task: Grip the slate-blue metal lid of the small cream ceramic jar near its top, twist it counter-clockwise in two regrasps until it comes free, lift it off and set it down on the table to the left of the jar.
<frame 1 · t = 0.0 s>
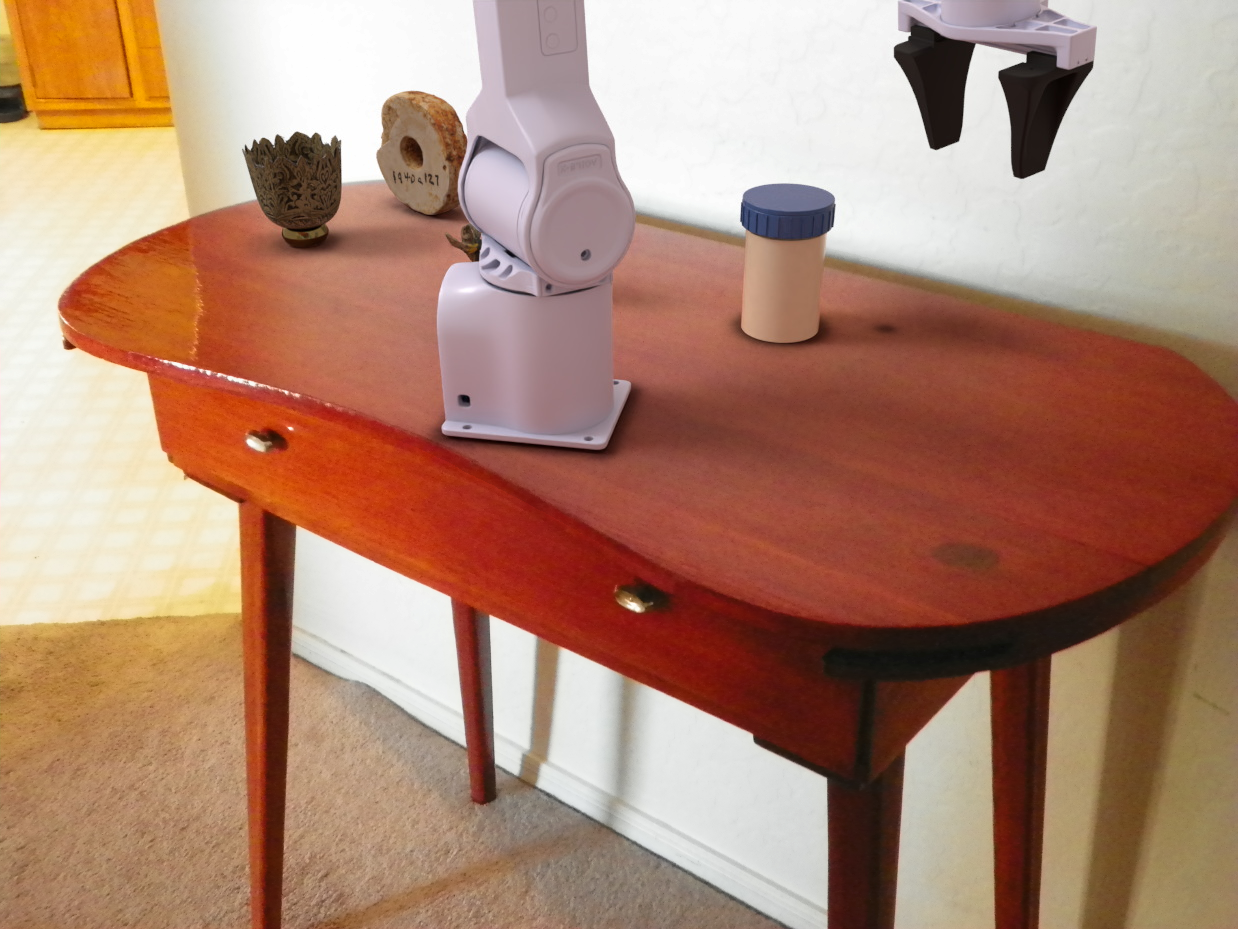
hand: (985, 158, 74), 11 cm above the table, tool pointing down, fingers open, 7 cm apart
lid: (788, 201, 72), point 9 cm above the table, screwed on, not yet turned
jar: (779, 327, 77), on the table
stone disc: (430, 210, 99), on the table
eagle figurine: (524, 288, 84), on the table
cup: (307, 244, 92), on the table
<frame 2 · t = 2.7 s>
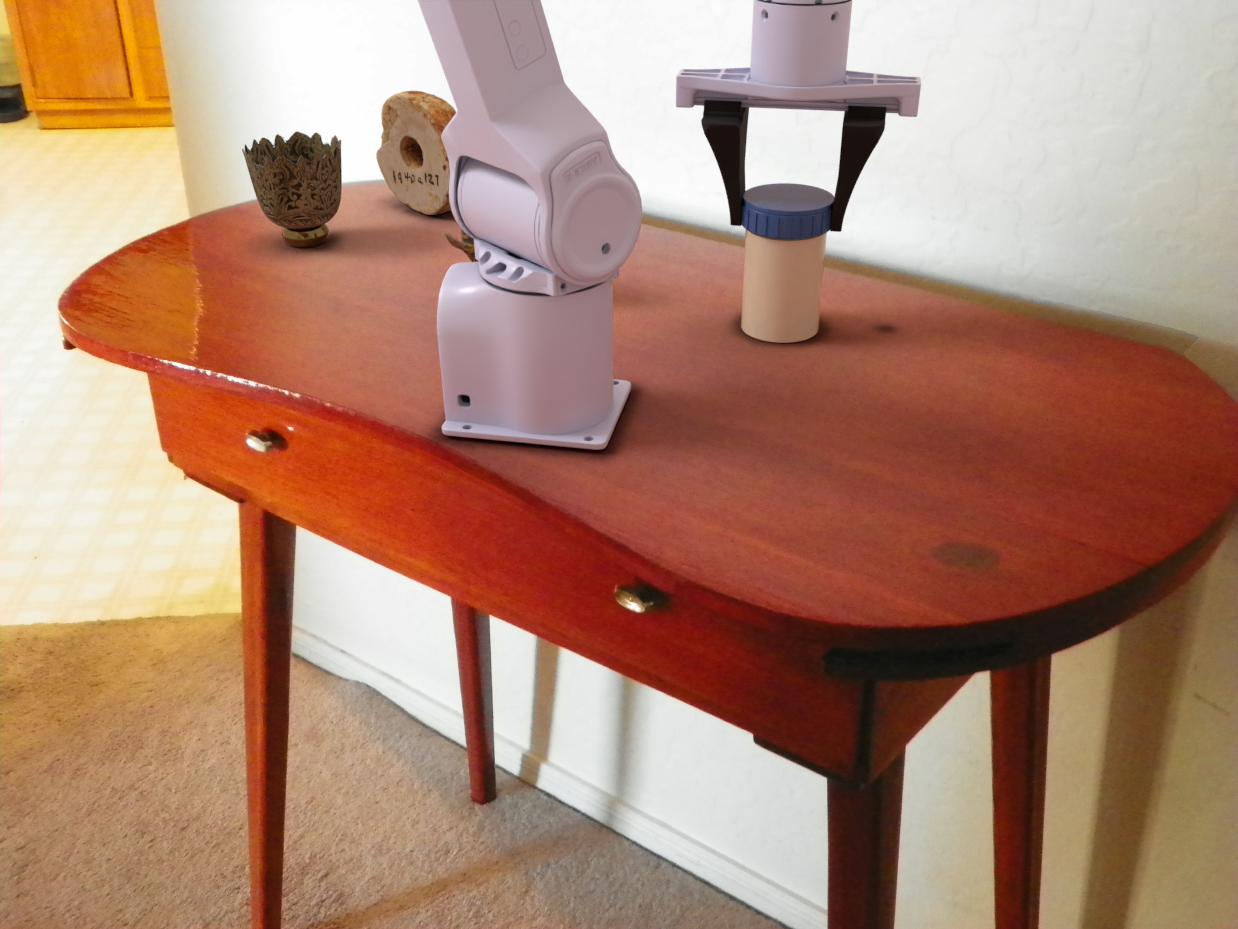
hand: (787, 223, 73), 7 cm above the table, tool pointing down, fingers closed on lid, 6 cm apart
lid: (788, 201, 72), point 9 cm above the table, screwed on, not yet turned, touching gripper
everything else where it was.
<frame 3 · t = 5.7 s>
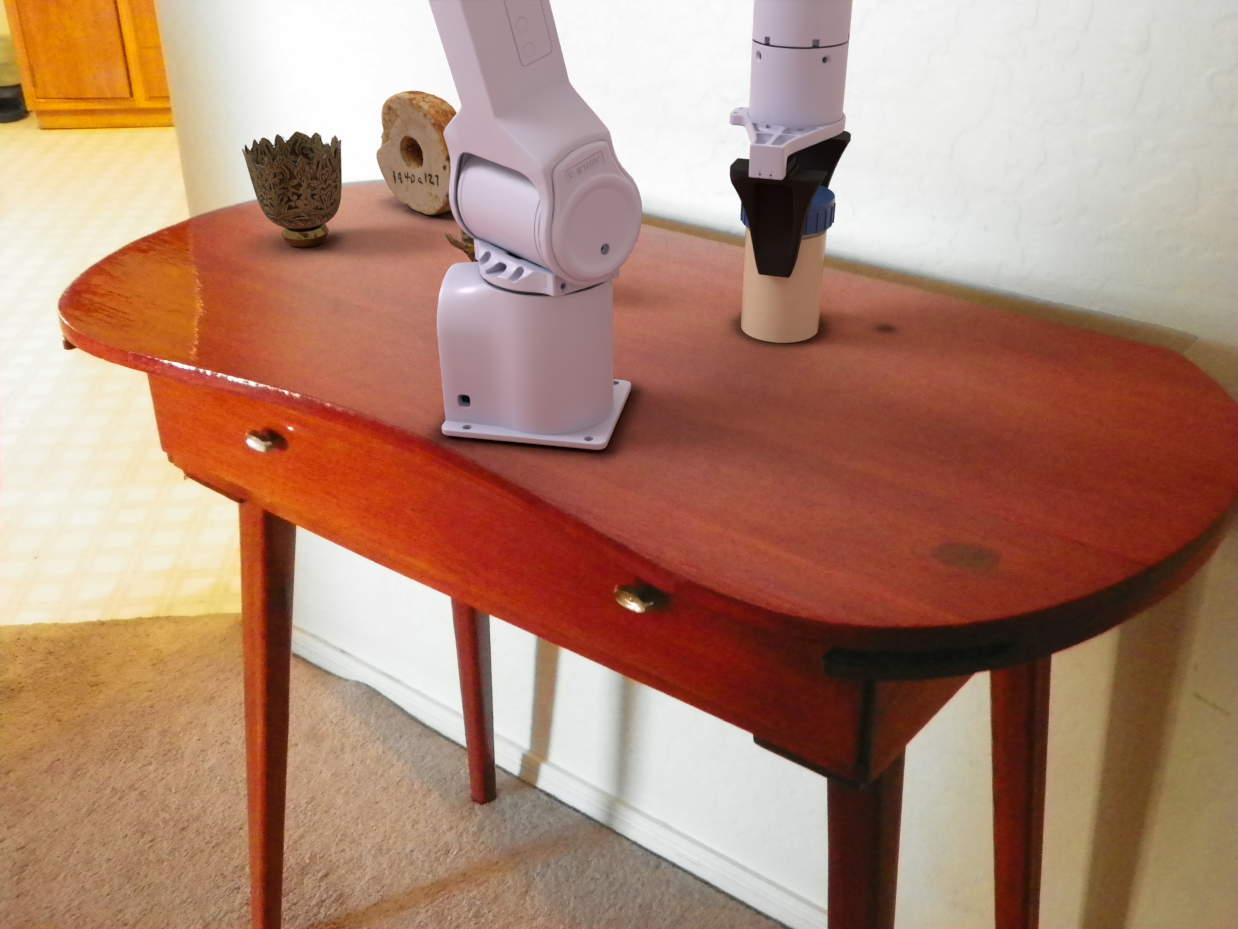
hand: (786, 257, 74), 5 cm above the table, tool pointing down, fingers closed on lid, 5 cm apart
lid: (788, 198, 72), point 9 cm above the table, turned 80° so far, risen 0.2 cm, still on its thread, touching gripper
everything else where it was.
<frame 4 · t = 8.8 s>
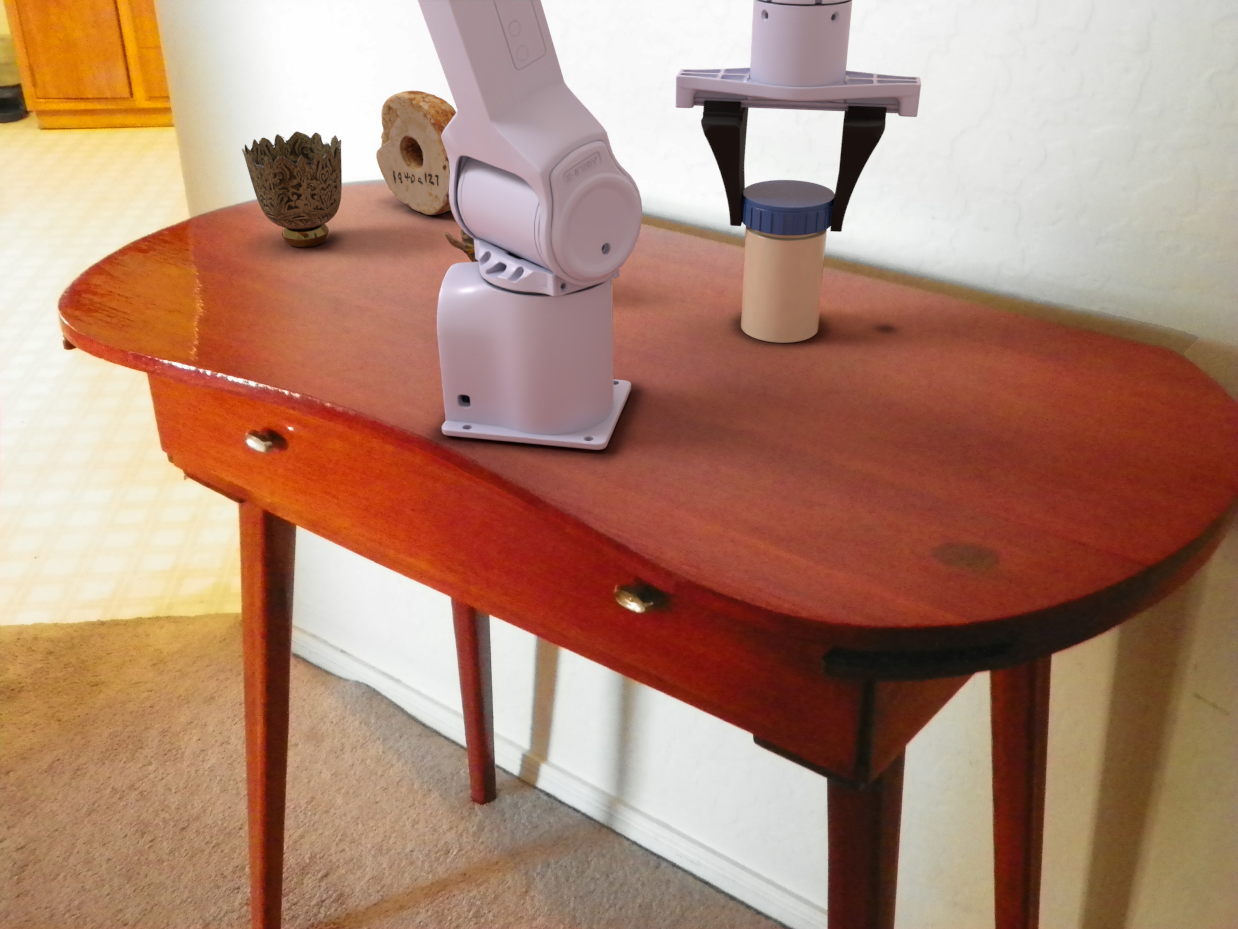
hand: (786, 223, 73), 7 cm above the table, tool pointing down, fingers closed on lid, 6 cm apart
lid: (788, 197, 72), point 9 cm above the table, turned 80° so far, risen 0.2 cm, still on its thread, touching gripper
everything else where it was.
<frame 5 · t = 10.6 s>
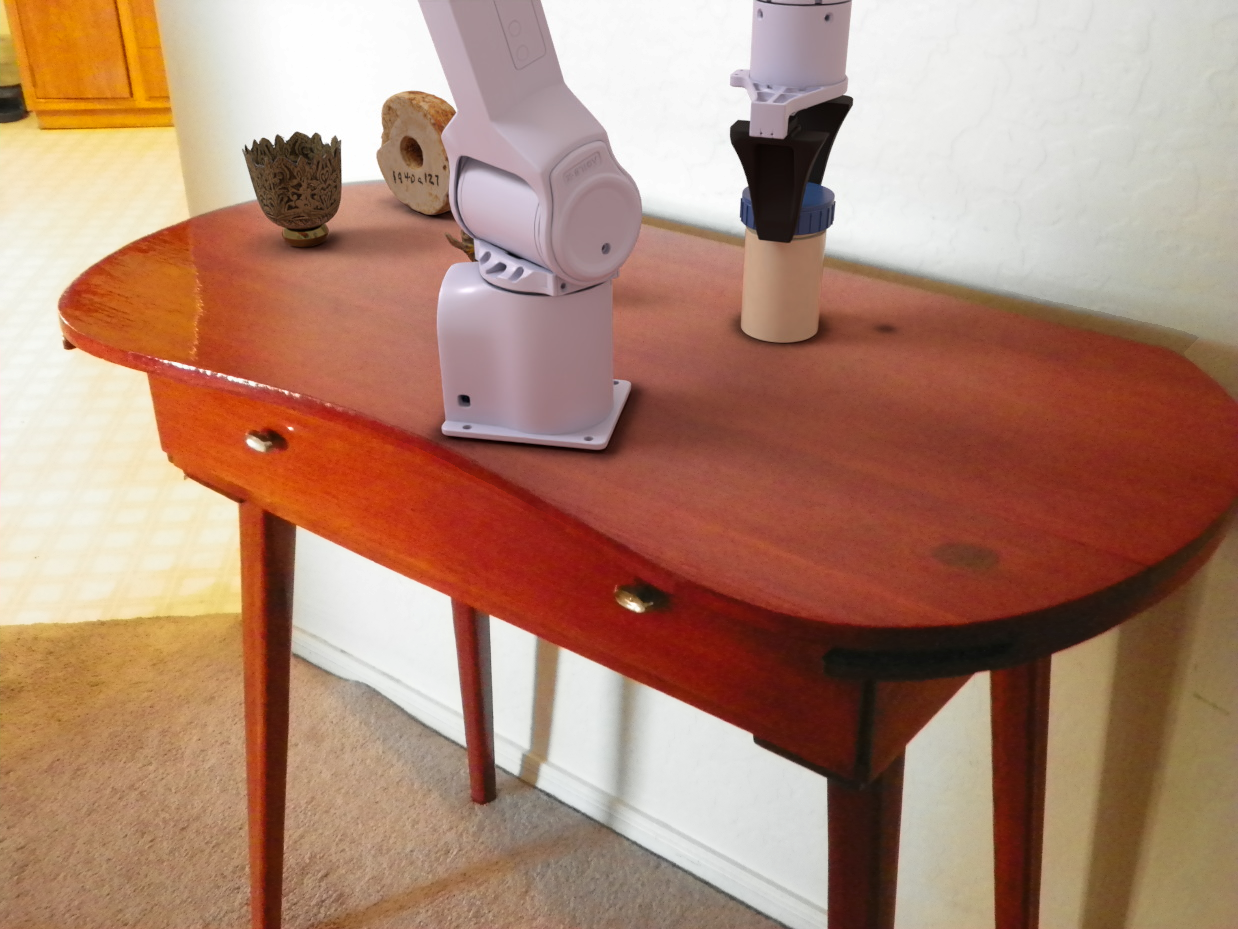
hand: (786, 224, 73), 7 cm above the table, tool pointing down, fingers closed on lid, 6 cm apart
lid: (788, 197, 72), point 9 cm above the table, off its thread, touching gripper
everything else where it was.
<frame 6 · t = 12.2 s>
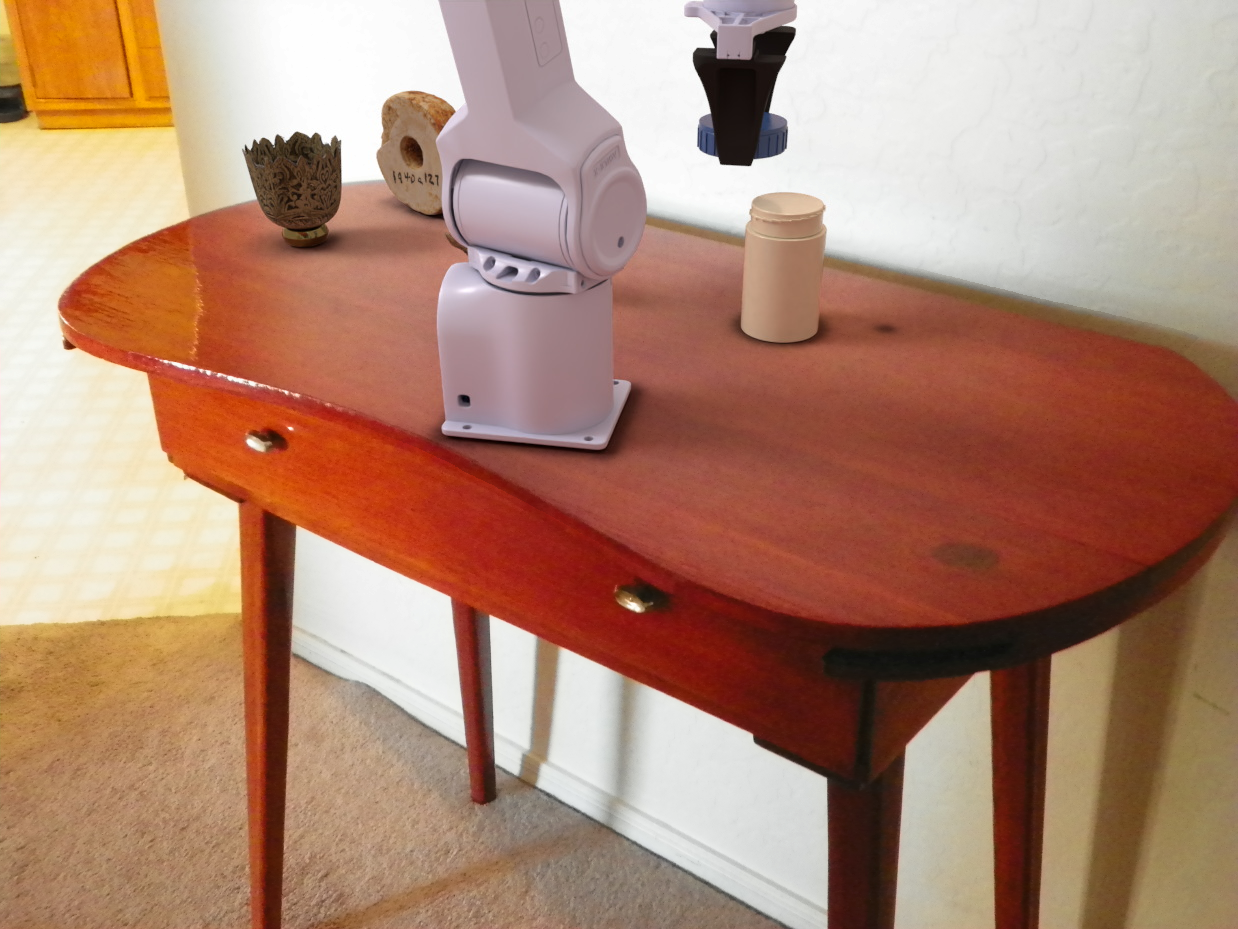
hand: (741, 150, 76), 10 cm above the table, tool pointing down, fingers closed on lid, 6 cm apart
lid: (742, 125, 75), point 12 cm above the table, off its thread, touching gripper
everything else where it was.
when the fingers open (0 cm above the table, at t = 16.0 s): lid stays where it is, point 1 cm above the table.
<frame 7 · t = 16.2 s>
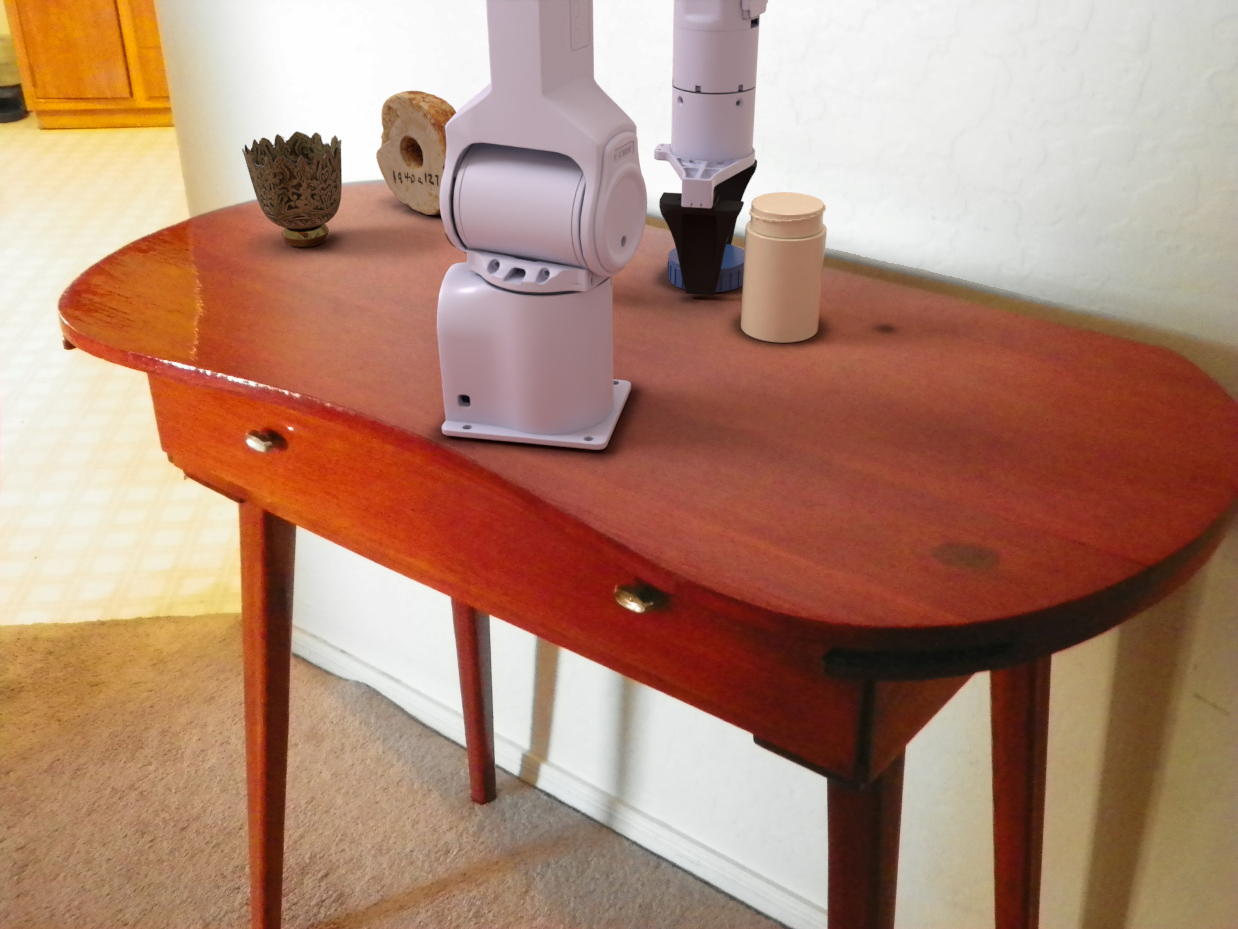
hand: (707, 273, 84), 0 cm above the table, tool pointing down, fingers open, 7 cm apart
lid: (708, 258, 84), point 1 cm above the table, off its thread
everything else where it was.
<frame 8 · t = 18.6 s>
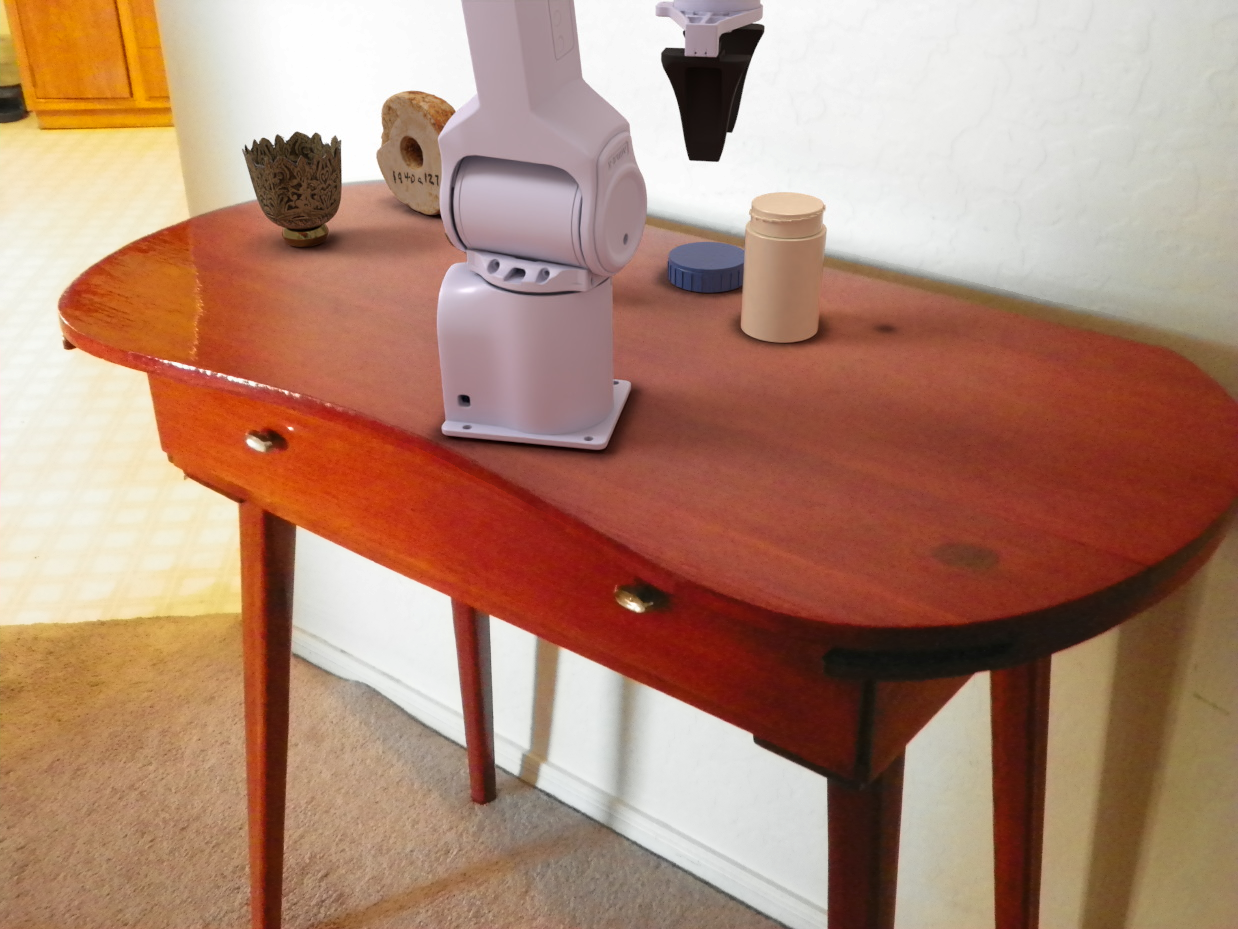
hand: (711, 144, 80), 10 cm above the table, tool pointing down, fingers open, 7 cm apart
nothing on the table moved.
at the end: lid came off its thread; lid point 1.5 cm above the table; the gripper is holding nothing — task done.
